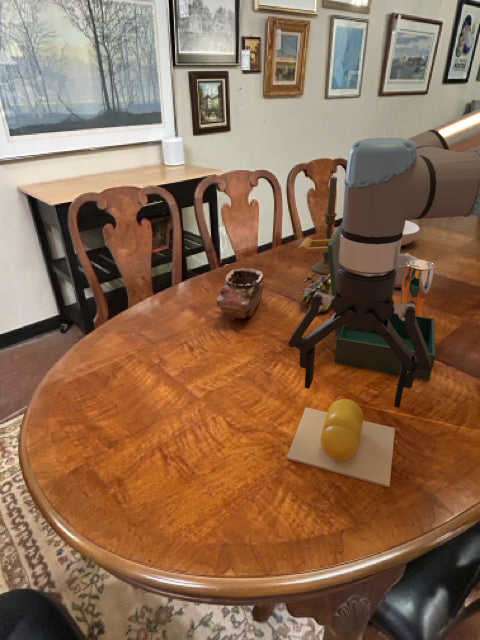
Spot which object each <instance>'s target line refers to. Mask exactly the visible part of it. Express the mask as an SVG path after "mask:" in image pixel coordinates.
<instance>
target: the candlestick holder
mask: <svg viewBox="0 0 480 640" xmlns="http://www.w3.org/2000/svg"><path fill="white" fill-rule="evenodd" d="M337 183H338V177H337V176H335V175H333V176H331V177H329V183H328V184H329V185H328V195H327V196H328V197H327V206H326V207H327V208H326V211H325V212H324V214H323V216H324V217H325V218H324V223H325V224H326V227H325V228H326V229H325V240H327V239H332V235H333V225H334V224H335V223H336V217H337V216H338V215H337V213H336V212H335V209H336V208H335V207H336V195H337V185H338V184H337ZM328 244H329V243H326V244H325V246H324V247H328ZM321 255H322V257H323V259H322V260H321V261H318V262H317V263H314V264H313V265H312V266H311V270H312V271H313V273H316V274H319V275H322V276H325V275H329V274H330V266H329V254H328V251H321Z"/></svg>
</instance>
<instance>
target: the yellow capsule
mask: <svg viewBox="0 0 480 640" xmlns="http://www.w3.org/2000/svg"><path fill="white" fill-rule="evenodd" d="M327 410H328V411H327V412H328V413H327V417H326V420H325V423H324V426H323V430H322V433H321V439H320V441H321V446H322V448H323V450H324V452H325V453H326V454H327V455H328V456H329V457H331V458H332V459H335V460H346V459H349V458H351V457H352V456H353V455H354V454H355V453H356V451H357V449H358V446H359V441H360V435H361V430H362V425H363V421H364V412H363V409H362V408H361V406H360V405H359V404H358V403H357V402H356V401H355V400H352V399H349V398H340V399H338V400H335V401H334V402H333V403H332V404H330V406H329V408H328V409H327Z"/></svg>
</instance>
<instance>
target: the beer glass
mask: <svg viewBox="0 0 480 640" xmlns="http://www.w3.org/2000/svg"><path fill="white" fill-rule="evenodd" d="M435 269H436V265H435V263H433V262H431V261H429V260H426V259H419V260H417V259H416V260H409V261H407V262H406V267H405V270H404V274H403V278H402V288H401V303H400V304H406V303H407V302H409V301H413V302H415V304H416V308H415V315H416V316H422V317H423V311H424V306H425V304H426V301H427V299H428V297H429V294H430V292H431V290H432V286H433V283H434V277H435Z"/></svg>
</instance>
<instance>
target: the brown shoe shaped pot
mask: <svg viewBox="0 0 480 640" xmlns="http://www.w3.org/2000/svg"><path fill="white" fill-rule="evenodd" d="M264 278H265V274H264V273H263V272H262V271H261V270H259V269H257V268H252V267H241V268H234V269H231V270H230V271H229V272H228V273H227V274H226V276H225V282H224V284H223V286H222V287H221V288H220V293H219V296H217V299H216V307H218V308H219V310H221V311H220V312H221V314H222V315H223V316H226V317H230V319H231V320H234V319H235V318H236V319H245V318H246V317H248V318H250V317H252V315H253V313H254V311H256V308H257V306H258V304H259V303H260V301H261V299H262V296H263V293H264V287H265V284H264V283H263V281H264Z"/></svg>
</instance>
